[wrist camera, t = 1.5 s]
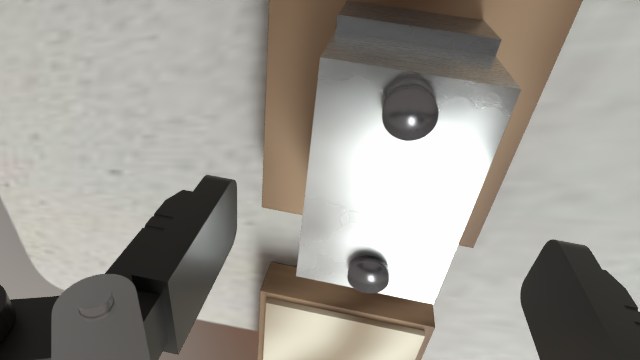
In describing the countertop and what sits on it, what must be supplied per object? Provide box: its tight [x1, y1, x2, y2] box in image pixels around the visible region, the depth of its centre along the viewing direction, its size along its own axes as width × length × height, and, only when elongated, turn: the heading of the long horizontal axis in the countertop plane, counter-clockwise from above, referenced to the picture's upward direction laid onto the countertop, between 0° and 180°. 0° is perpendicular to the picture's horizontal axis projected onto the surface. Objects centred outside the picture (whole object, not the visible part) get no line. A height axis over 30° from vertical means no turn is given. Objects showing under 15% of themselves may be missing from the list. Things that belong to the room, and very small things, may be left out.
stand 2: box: [258, 262, 435, 360], centre depth 29 cm, size 11×12×3 cm
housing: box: [296, 0, 522, 304], centre depth 14 cm, size 5×9×6 cm, turn 174°
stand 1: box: [262, 0, 583, 248], centre depth 18 cm, size 11×12×3 cm
